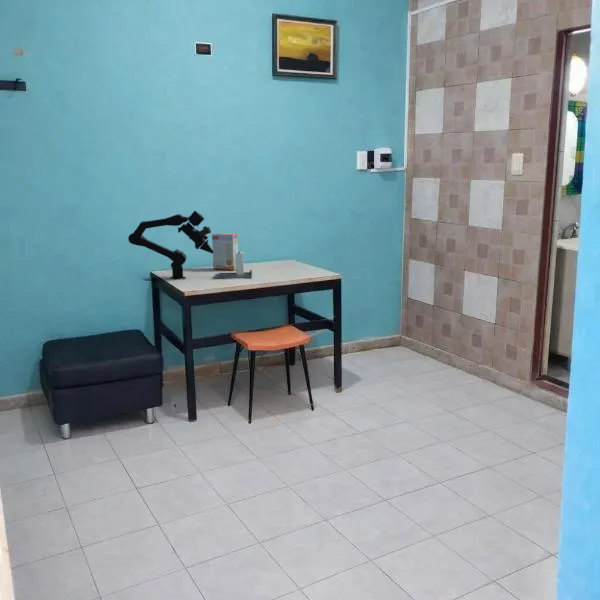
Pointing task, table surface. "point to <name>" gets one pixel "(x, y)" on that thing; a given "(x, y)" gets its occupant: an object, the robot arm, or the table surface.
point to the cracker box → (224, 251)
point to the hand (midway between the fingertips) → (213, 252)
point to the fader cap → (239, 263)
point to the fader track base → (233, 275)
